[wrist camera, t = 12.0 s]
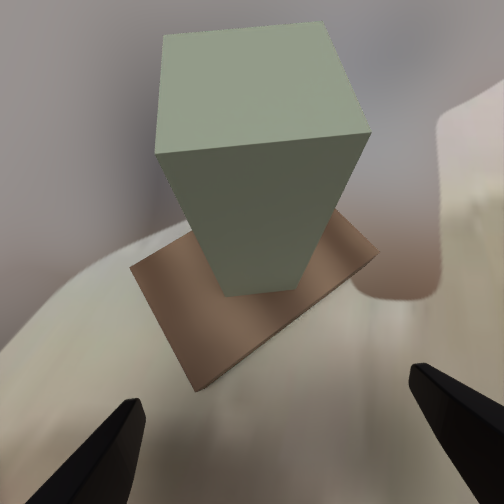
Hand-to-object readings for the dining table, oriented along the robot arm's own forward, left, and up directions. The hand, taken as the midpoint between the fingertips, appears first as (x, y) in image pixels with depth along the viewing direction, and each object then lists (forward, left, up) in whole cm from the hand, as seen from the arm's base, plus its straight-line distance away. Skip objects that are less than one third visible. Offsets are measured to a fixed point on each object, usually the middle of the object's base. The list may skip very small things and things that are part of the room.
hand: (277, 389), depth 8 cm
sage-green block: (+6, -5, -8) cm, 11 cm away
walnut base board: (+6, -5, -11) cm, 13 cm away
